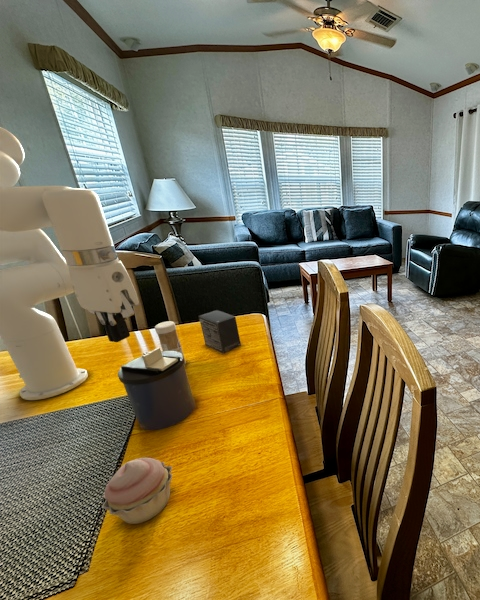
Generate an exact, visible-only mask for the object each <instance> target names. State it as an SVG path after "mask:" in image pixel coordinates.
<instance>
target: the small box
mask: <svg viewBox="0 0 480 600" xmlns="http://www.w3.org/2000/svg"><path fill="white" fill-rule="evenodd" d="M197 317H198V320H199V323H200V327H201V332H202V334H203V336H202V337H203V340H204V345H205V346H206V347H208V348H210V349H212V350H214V351H216V352H218V353H221V354H226V353H229V352H231V351H233V350H235V349H237V348H240V347H241V346H242V343H241V338H240V334H239V327H238V324H237V318H236V316H235V315H232V314H229V313H226V312H224V311H221V310H218V309H216V310H213V311H210V312H207V313H204V314H200V315H198V316H197Z"/></svg>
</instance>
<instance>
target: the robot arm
mask: <svg viewBox="0 0 480 600" xmlns="http://www.w3.org/2000/svg"><path fill="white" fill-rule="evenodd" d="M24 161H25V150H24V147H23V146H22V143H21V142H20V140H19V139H18V138H17V137H16V136H15V135H14V134H13V133H12V132H10V131H9V130H7V129H6V128H4V127H2V126H0V266H5V265H12V264H18V263H23V262H28V263H27V264H22V265H15V266H10V267H5V268H0V339H1V341H2V343H3V345H4V347H5V348H6V350H7V353H8V354H9V356H10V358H11V360H12V362H13V364H14V366H15V368H16V370H17V371H18V373H19V375H18V377H19V378H20V379H22V382H23V383H24V386H23V387H22V388H20V390H19V396H20V397H21V399H22V400H24V401H25V400H26V401H38V400H39V401H40V400H45V399H48V398H52V397H55V396H58V395H62V394H64V393H66V392H69V391H71V390H74V389H75V388H76V387H79V386H80V385H81V384H83V383H84V382H85V381H86V380H87V379H88V376H89V373H88V371H87V369H85V368H79V367H77V366H76V364H75V361H74V359H73V356H72V354H71V353H70V350H69V348H68V345H67V343H66V341H65V338H64V336H63V334H62V332H61V329H60V328H59V325H58V323H57V321H56V319H55V318H54V317H53V316H52V315H51V314H49V313H47V312H44V311H43V310H39V309H37V308H36V307H35V306H37V305H39V304H42V303H45V302H49V301H52V300H56V299H59V298H62V297H66V296H69V295H71V294H74V295H75V297H76V300H77V302H78V304H79V306H80V307H81V308H82V309H84V310H86V311H87V312H88V313H90V314H93V315H95V316H96V317H97V319H98V320H99V323H100V324H102V325H103V327H104V330H105V333H106V336H107V338H108V341H109V342H112V343H119V342H121V341H123V340H125V339H127V338H129V337H130V336H131V334H130V330H129V328H128V324H127V322H126V321H127V320H128V318H129V317H132V316H134V315H135V314H136V312H135V311H134V308H133V307H137V306H139V305H140V304H139V303H140V302H139V297H138V294H137V291H136V289H135V286H134V283H133V281H132V279H131V277H130V274H129V273H128V271H127V269H126V267H125V266H124V263H123V261H121V260H119V257H118V254H117V250H116V248H115V244H114V241H113V237H112V235H111V231H110V229H109V226H108V222H107V219H106V216H105V213H104V210H103V206H102V203H101V200H100V197H99V196H98V194H97V192H95V191H94V190H91V189H88V188H77V187H75V188H74V187H70V186H66V185H26V186H22V185H21V186H15V185H16V184H17V183H18V181H20V177H21V171H20V166H21V165H22V164H23V162H24ZM49 228H52V229H53V232H54V234H55V237H56V240H57V242H58V245H59V248H60V250H61V252H60V251H59V249H58V247H56V245H55V244H54V242H53V241H52V240H51V238H50V237H49V236H48V235H47V234H46V233H45V231H44V230H42V229H49Z"/></svg>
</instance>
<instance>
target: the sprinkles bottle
mask: <svg viewBox="0 0 480 600" xmlns="http://www.w3.org/2000/svg"><path fill="white" fill-rule="evenodd" d="M154 329H155V333H156V334H157V336H158V340H159V344H160V347H161V351H177V352H180V353H181V354H182V355H183V358H184V367H186V365H187V361H186V359H185V356H184V351H183V348H182V345H181V342H180V339H179V336H178V332H177V326H176V323H175V321H172V320H171V321H170V320H167V321H162V322H160V323H159V322H158V324H156V325H155V326H154Z"/></svg>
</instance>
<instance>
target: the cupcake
mask: <svg viewBox="0 0 480 600" xmlns="http://www.w3.org/2000/svg"><path fill="white" fill-rule="evenodd" d="M172 469H173V466H171V465H165V462H164V461H160V460H159V459H156V458H153V457H145V456H144V457H139V458H135V459H132V460H129V461H127V462H125V463H124V464H123V465H121V466H120V468H118V470H117V471H115V473H114V475H113V476H112V477H111V478H110V479H109V481H108V483H107V484H106V486H105V488H104V492H103V495H102V498H104V499H105V501H104V502H103V503H102V506H101V509H104V510H107V511H109V515H113V516H116V517H118V518H120V519H121V520H122V521H123V522H124V523H125V524H130V525H138V524H142V523H145V522H147V521H149V520H152V519H153V518H154V517H156V516H157V515H158V514H160V513H161V512H162V511H163V510H164V508H165V507H166V506H167V504H168V503H169V500H170V496H171V482H172V478H173V474H172Z"/></svg>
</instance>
